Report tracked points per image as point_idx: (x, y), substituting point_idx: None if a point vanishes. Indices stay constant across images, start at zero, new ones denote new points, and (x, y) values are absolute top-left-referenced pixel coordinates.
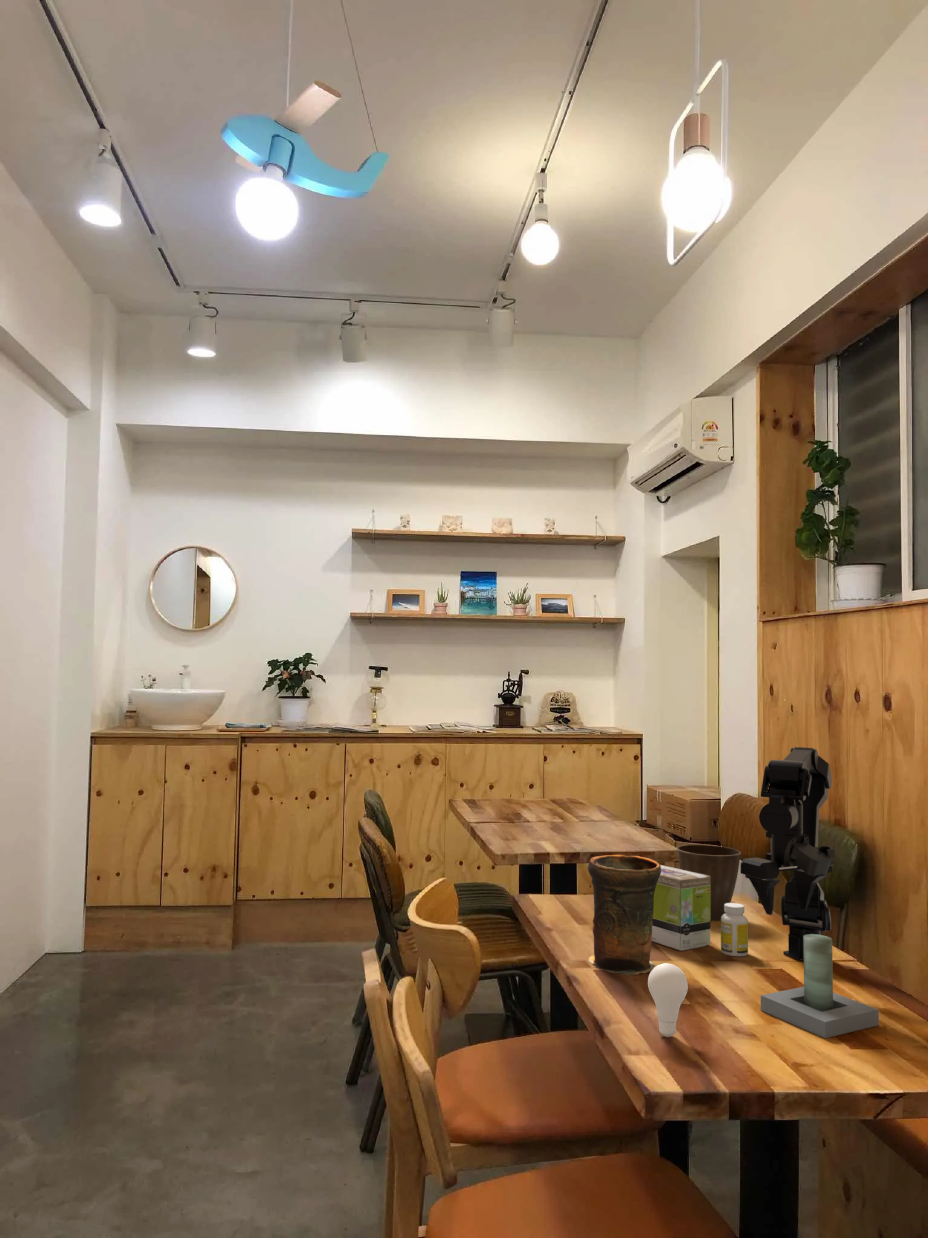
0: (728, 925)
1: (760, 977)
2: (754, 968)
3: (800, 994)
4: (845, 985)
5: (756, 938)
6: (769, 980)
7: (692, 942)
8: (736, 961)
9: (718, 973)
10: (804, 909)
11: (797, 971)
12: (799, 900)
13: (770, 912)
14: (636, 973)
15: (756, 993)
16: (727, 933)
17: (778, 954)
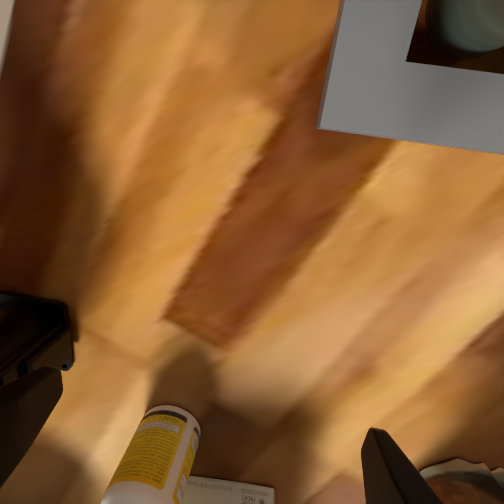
0: (178, 500)
1: (270, 312)
2: (222, 353)
3: (468, 86)
4: (114, 148)
5: (41, 445)
6: (270, 288)
7: (233, 496)
8: (216, 398)
9: (333, 380)
10: (56, 375)
11: (141, 285)
12: (22, 450)
13: (395, 445)
14: (498, 472)
15: (401, 252)
16: (185, 478)
17: (81, 372)
